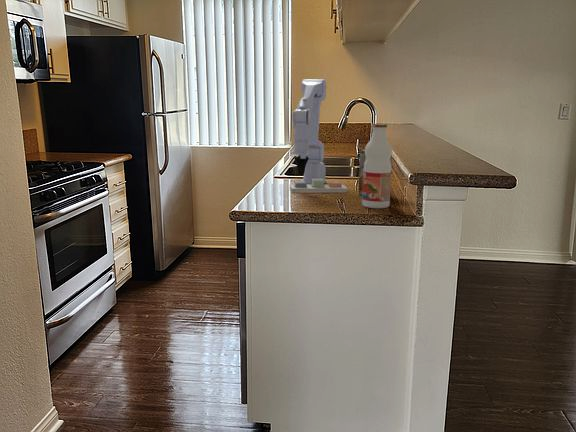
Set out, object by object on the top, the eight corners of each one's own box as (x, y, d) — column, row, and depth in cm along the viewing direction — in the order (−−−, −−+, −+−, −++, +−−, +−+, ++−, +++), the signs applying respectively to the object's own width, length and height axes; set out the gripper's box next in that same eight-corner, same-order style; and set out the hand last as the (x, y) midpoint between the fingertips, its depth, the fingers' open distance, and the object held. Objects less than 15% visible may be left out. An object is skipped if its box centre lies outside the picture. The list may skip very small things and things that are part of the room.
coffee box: (385, 194, 200) (387, 153, 197) (380, 197, 195) (382, 154, 191) (363, 192, 205) (364, 151, 201) (357, 194, 199) (359, 153, 195)
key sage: (322, 184, 210) (322, 178, 209) (324, 186, 205) (324, 180, 205) (311, 184, 209) (312, 178, 209) (313, 186, 205) (313, 180, 204)
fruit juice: (392, 208, 174) (397, 124, 168) (365, 209, 173) (369, 124, 167) (385, 203, 183) (389, 123, 177) (359, 203, 182) (362, 123, 176)
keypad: (342, 188, 213) (342, 184, 213) (347, 192, 204) (347, 188, 203) (289, 188, 212) (289, 184, 211) (291, 192, 202) (291, 188, 202)
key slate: (305, 187, 209) (305, 181, 209) (306, 189, 205) (306, 183, 204) (294, 187, 209) (294, 181, 208) (295, 189, 205) (295, 183, 204)
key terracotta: (339, 187, 210) (339, 181, 210) (341, 189, 206) (341, 183, 206) (328, 187, 210) (329, 181, 210) (330, 189, 206) (330, 183, 205)
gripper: (289, 138, 209) (289, 172, 213) (293, 142, 195) (292, 177, 198) (307, 138, 210) (306, 172, 213) (311, 142, 196) (310, 177, 199)
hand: (300, 174), depth 206 cm, fingers closed
